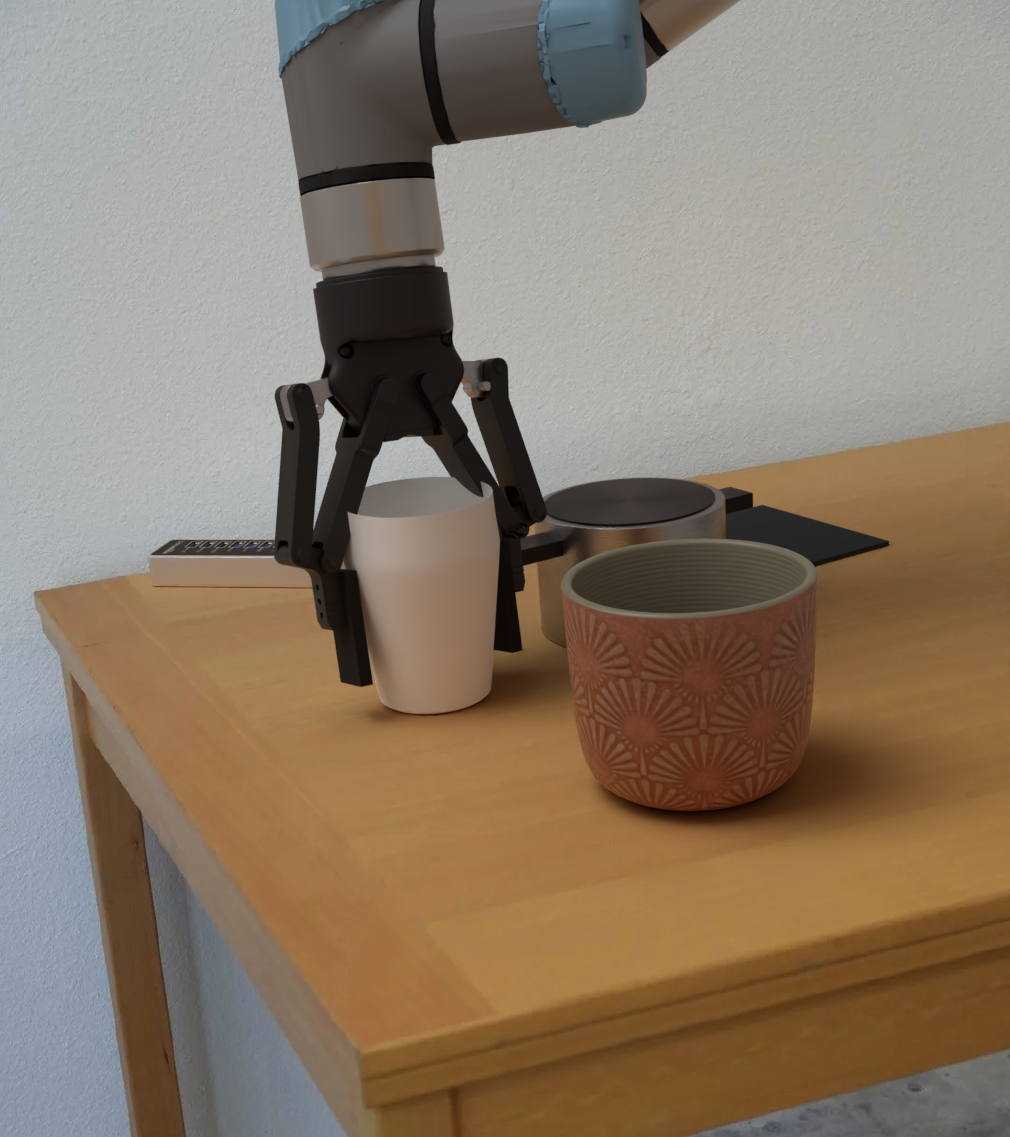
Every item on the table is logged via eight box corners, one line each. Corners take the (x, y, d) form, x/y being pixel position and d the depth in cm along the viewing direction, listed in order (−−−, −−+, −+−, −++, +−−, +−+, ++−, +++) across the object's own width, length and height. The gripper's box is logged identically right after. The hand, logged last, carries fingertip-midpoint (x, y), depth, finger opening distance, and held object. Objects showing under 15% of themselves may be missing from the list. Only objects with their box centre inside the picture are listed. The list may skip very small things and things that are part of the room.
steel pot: (803, 612, 109) (802, 489, 106) (570, 681, 101) (561, 549, 98) (689, 572, 119) (685, 457, 116) (467, 632, 111) (457, 510, 107)
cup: (392, 664, 106) (371, 475, 101) (530, 670, 103) (516, 476, 98) (335, 719, 98) (310, 517, 93) (483, 727, 95) (465, 519, 91)
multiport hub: (334, 587, 122) (330, 556, 121) (150, 586, 125) (145, 556, 124) (354, 569, 126) (351, 538, 125) (175, 568, 129) (170, 538, 128)
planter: (746, 852, 79) (741, 630, 75) (526, 802, 86) (510, 596, 82) (858, 755, 88) (860, 552, 84) (651, 717, 95) (643, 528, 91)
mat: (889, 544, 121) (889, 540, 121) (734, 588, 115) (734, 583, 115) (762, 508, 132) (762, 504, 132) (615, 546, 126) (614, 542, 126)
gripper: (512, 261, 103) (556, 626, 108) (168, 295, 92) (234, 698, 97) (580, 246, 96) (623, 635, 101) (218, 280, 86) (287, 712, 91)
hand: (432, 666), depth 99 cm, fingers open, 9 cm apart
